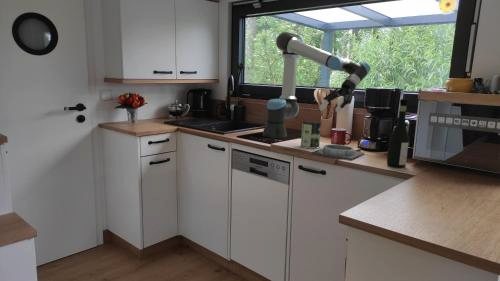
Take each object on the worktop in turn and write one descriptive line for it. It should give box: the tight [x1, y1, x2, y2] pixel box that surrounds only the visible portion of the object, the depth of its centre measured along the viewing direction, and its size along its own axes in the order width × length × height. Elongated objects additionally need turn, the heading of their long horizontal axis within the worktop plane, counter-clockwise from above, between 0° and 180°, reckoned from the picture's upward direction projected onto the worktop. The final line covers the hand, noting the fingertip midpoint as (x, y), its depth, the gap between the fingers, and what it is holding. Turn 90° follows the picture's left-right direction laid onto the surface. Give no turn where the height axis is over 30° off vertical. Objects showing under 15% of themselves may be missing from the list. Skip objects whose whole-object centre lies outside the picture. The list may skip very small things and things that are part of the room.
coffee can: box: [300, 120, 322, 149], centre depth 199 cm, size 10×10×14 cm
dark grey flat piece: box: [311, 144, 365, 161], centre depth 184 cm, size 20×20×4 cm
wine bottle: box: [386, 98, 410, 169], centre depth 161 cm, size 8×8×30 cm
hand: (328, 110), depth 202 cm, fingers open, 13 cm apart
